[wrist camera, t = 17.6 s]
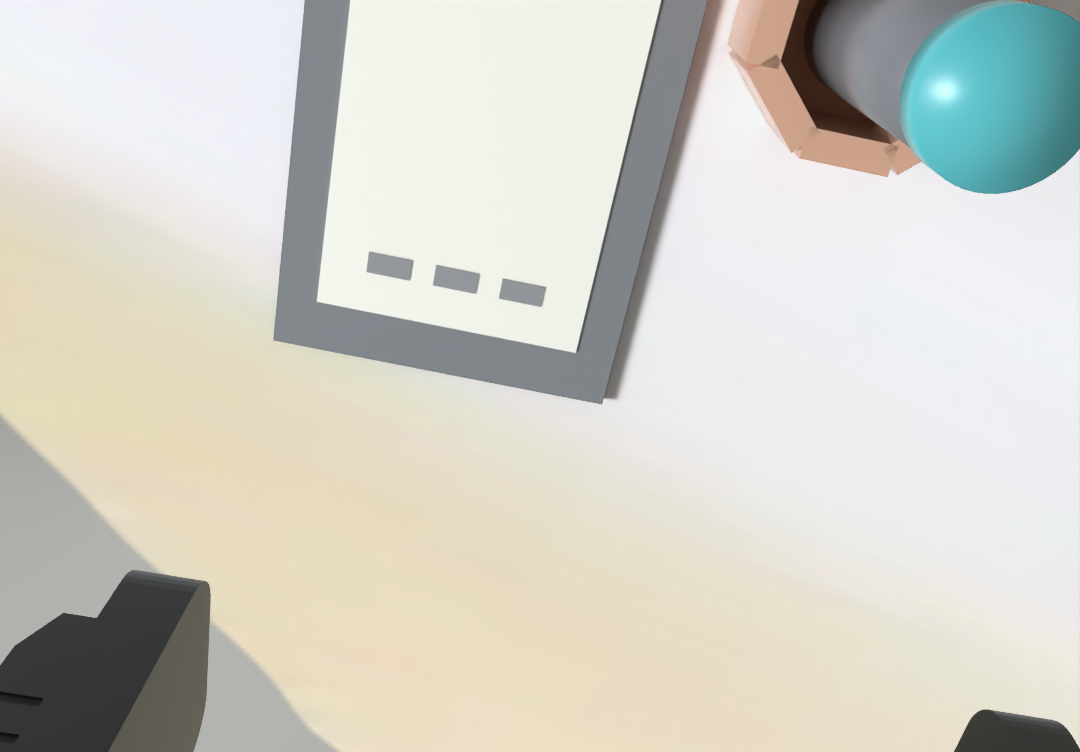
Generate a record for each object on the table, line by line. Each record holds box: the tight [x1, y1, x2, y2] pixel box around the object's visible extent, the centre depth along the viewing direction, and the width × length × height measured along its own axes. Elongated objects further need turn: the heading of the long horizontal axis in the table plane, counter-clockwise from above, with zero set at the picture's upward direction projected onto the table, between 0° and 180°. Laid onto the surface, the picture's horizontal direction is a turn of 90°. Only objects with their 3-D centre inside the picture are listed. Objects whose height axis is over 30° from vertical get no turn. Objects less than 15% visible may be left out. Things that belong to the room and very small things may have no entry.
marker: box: [804, 0, 1080, 194], centre depth 27 cm, size 4×4×12 cm
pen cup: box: [728, 0, 1029, 177], centre depth 31 cm, size 8×8×4 cm
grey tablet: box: [274, 0, 708, 404], centre depth 35 cm, size 17×13×1 cm
